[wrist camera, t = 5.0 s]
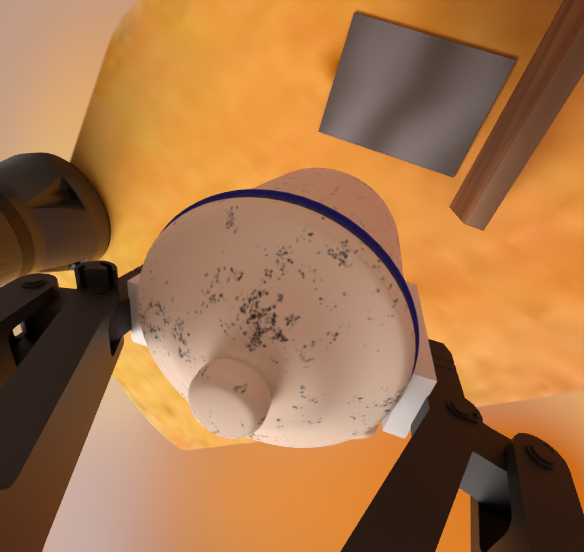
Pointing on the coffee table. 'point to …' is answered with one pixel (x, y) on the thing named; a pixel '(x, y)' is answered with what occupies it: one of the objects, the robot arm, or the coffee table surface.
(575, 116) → the coffee table surface
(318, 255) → the teacup with lid
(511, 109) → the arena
